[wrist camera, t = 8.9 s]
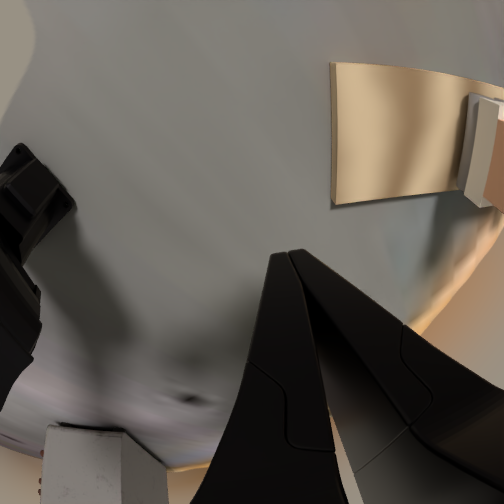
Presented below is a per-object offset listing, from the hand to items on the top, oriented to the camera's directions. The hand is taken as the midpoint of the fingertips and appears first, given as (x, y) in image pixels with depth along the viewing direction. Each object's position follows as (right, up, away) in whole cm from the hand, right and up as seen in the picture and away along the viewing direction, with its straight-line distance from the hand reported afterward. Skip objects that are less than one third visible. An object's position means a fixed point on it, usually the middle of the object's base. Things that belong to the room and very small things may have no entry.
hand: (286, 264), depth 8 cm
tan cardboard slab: (+16, +10, +12) cm, 22 cm away
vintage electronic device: (-32, -42, +44) cm, 69 cm away
